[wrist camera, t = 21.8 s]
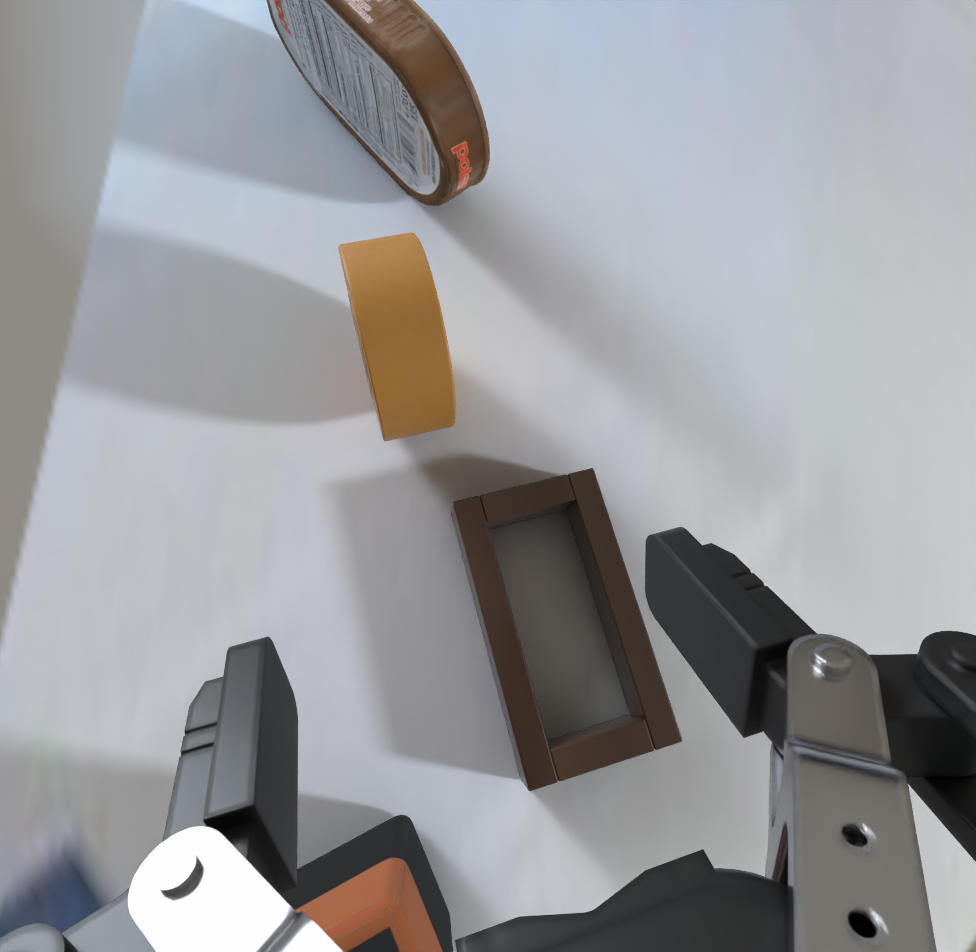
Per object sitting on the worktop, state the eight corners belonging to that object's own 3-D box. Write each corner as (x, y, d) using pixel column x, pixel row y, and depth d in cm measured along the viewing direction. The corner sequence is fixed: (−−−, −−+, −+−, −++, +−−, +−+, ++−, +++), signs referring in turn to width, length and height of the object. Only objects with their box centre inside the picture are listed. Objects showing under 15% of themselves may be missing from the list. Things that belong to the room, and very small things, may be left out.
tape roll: (389, 472, 28) (367, 371, 20) (355, 331, 31) (325, 198, 23) (457, 457, 28) (458, 353, 21) (416, 319, 31) (406, 186, 24)
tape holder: (521, 781, 25) (528, 791, 23) (450, 512, 28) (452, 501, 26) (664, 735, 26) (683, 741, 24) (582, 479, 29) (593, 467, 27)
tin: (486, 216, 33) (506, 71, 24) (440, 246, 32) (445, 107, 24) (314, 35, 35) (281, -152, 27) (267, 59, 34) (218, -126, 26)
